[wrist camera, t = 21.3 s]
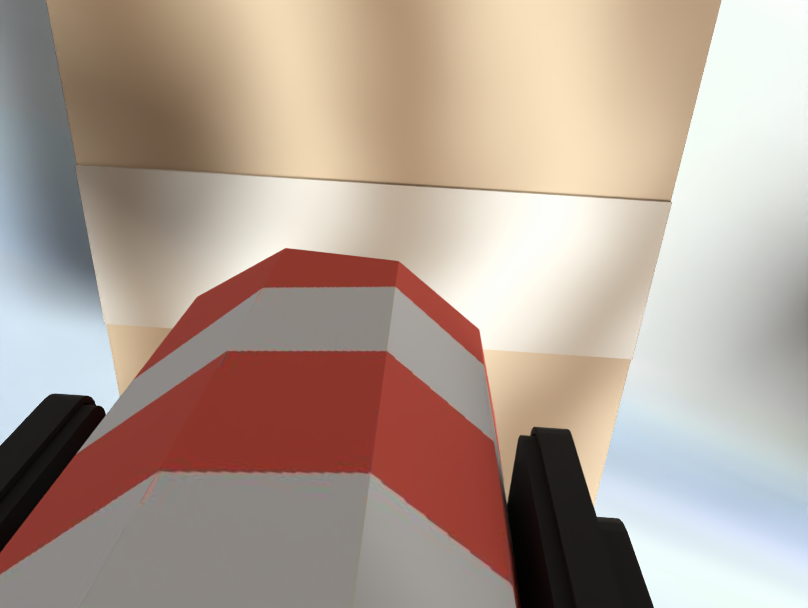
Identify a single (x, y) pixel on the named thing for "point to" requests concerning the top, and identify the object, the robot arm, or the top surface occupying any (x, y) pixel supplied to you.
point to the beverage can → (286, 458)
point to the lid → (394, 167)
